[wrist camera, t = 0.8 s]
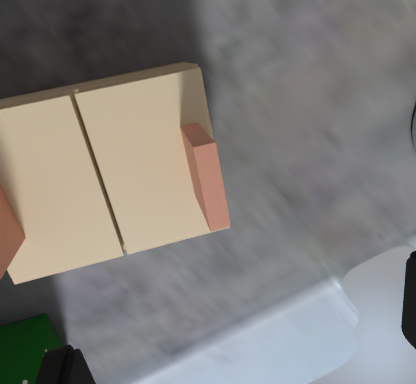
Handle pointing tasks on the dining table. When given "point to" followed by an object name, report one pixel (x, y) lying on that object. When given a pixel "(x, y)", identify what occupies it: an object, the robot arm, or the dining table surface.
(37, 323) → the soya milk
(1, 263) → the flap
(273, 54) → the dining table surface
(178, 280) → the dining table surface
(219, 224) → the flap
